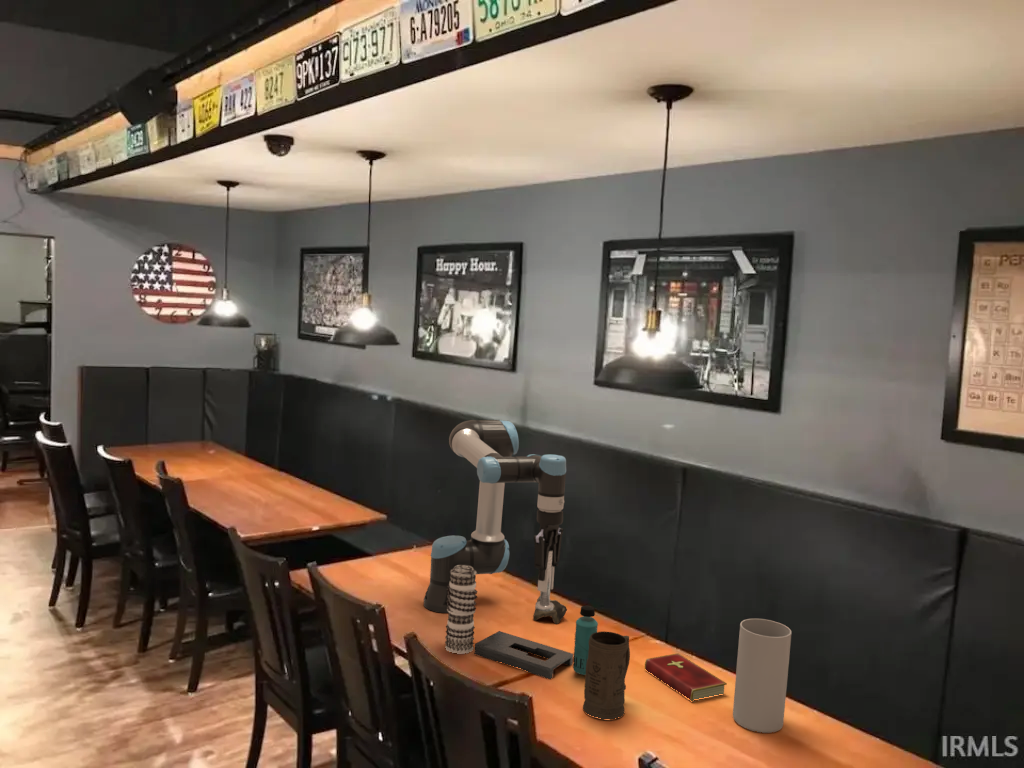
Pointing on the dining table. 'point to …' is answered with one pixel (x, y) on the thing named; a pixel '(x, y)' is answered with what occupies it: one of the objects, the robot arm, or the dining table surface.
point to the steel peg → (545, 596)
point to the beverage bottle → (583, 638)
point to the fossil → (551, 612)
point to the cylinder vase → (761, 675)
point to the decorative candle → (461, 609)
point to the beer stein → (606, 675)
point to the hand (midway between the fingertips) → (545, 589)
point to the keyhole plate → (522, 653)
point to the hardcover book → (685, 676)
